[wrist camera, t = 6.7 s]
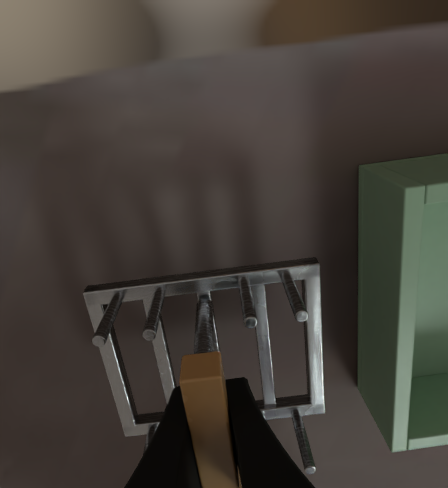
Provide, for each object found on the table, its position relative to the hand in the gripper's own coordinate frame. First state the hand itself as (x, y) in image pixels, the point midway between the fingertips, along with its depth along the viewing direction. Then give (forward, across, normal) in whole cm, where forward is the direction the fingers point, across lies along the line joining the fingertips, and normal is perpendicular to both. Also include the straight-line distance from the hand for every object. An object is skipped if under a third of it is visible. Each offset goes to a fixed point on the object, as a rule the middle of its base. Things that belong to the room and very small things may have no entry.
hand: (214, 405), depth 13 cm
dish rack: (+3, 0, 0) cm, 3 cm away
